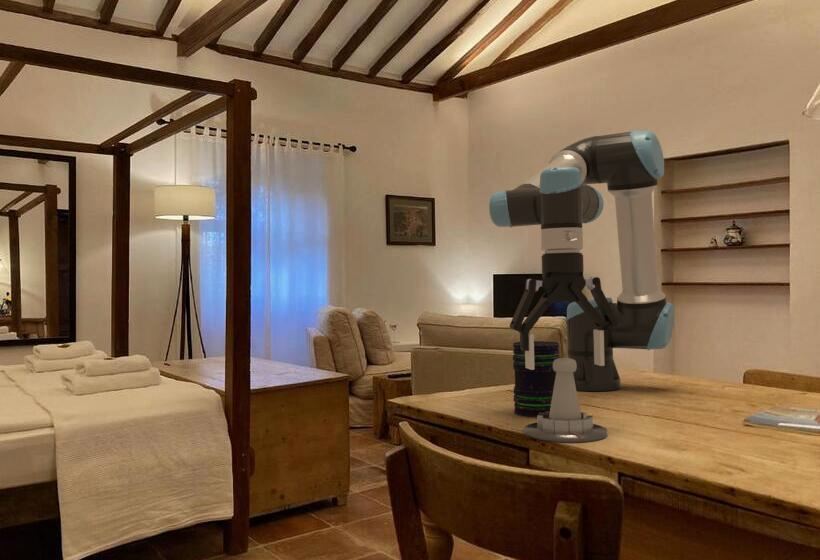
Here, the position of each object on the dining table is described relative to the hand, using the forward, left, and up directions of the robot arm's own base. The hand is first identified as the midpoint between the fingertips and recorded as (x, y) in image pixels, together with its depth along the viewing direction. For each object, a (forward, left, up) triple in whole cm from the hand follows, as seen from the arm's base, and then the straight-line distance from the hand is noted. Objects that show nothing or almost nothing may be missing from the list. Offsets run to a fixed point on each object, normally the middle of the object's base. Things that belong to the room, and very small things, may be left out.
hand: (564, 366), depth 128 cm
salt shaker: (0, 0, -12) cm, 12 cm away
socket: (0, 0, -12) cm, 12 cm away
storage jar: (-20, +2, -12) cm, 23 cm away
